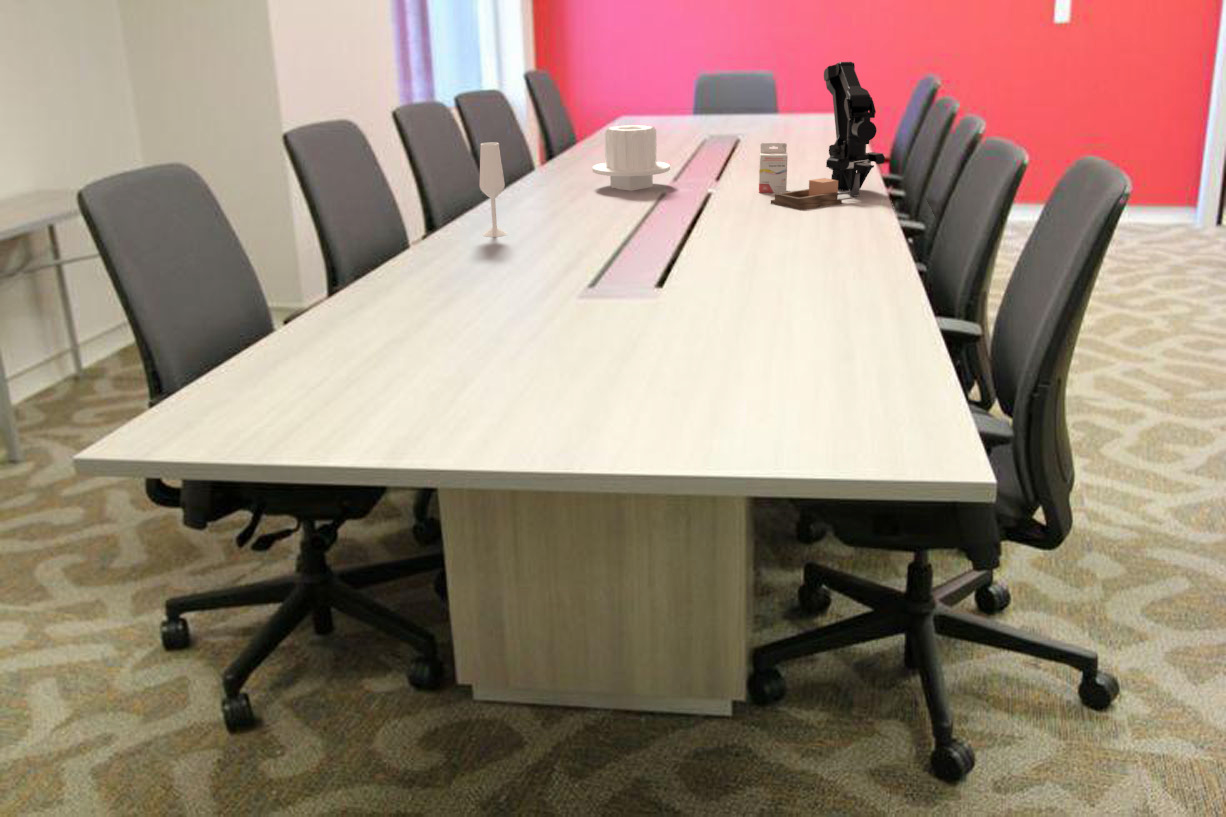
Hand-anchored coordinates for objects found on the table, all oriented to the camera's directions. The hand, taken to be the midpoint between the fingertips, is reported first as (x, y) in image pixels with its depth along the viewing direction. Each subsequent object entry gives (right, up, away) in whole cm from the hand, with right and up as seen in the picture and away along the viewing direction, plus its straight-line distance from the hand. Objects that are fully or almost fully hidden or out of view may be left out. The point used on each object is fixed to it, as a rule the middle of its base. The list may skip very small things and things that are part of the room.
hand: (854, 189), depth 355 cm
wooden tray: (-16, -6, -8) cm, 19 cm away
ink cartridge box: (-23, +1, +12) cm, 26 cm away
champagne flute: (-105, -19, -39) cm, 113 cm away
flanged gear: (-67, +5, +26) cm, 72 cm away
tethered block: (-6, -3, -3) cm, 7 cm away
